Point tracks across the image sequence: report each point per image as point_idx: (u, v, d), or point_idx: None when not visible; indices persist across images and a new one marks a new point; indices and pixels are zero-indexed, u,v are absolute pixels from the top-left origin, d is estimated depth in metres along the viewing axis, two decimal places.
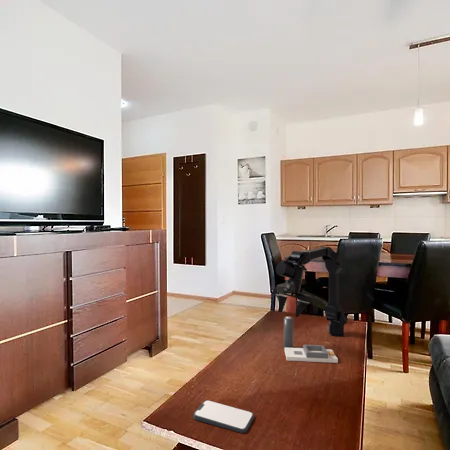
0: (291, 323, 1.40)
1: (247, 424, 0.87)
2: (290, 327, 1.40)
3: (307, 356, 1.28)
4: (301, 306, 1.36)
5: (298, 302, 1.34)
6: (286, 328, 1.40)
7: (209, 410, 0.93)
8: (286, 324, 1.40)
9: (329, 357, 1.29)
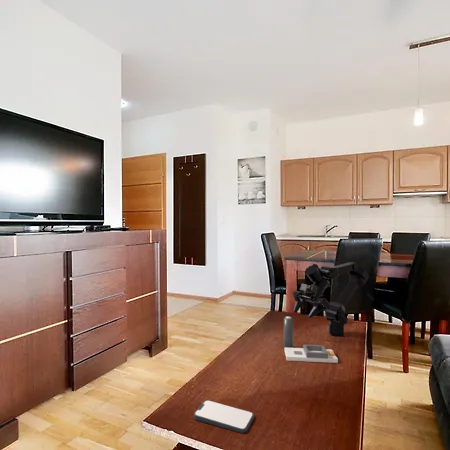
0: (291, 323, 1.40)
1: (247, 424, 0.87)
2: (290, 327, 1.40)
3: (307, 356, 1.28)
4: (317, 310, 1.43)
5: (316, 303, 1.42)
6: (286, 328, 1.40)
7: (209, 410, 0.93)
8: (286, 324, 1.40)
9: (329, 357, 1.29)
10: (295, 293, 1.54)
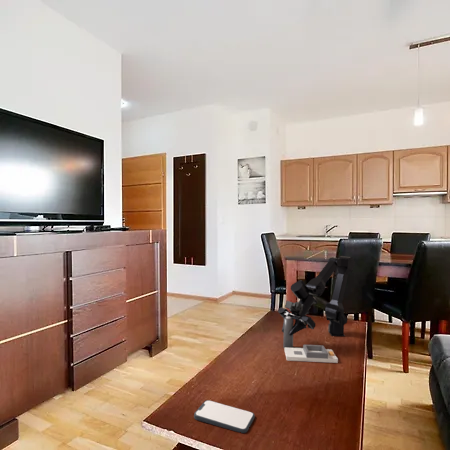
0: (291, 323, 1.40)
1: (248, 424, 0.87)
2: (290, 327, 1.40)
3: (307, 356, 1.28)
4: (298, 327, 1.40)
5: (297, 320, 1.39)
6: (286, 328, 1.40)
7: (210, 410, 0.93)
8: (286, 324, 1.40)
9: (329, 357, 1.29)
10: (280, 310, 1.49)
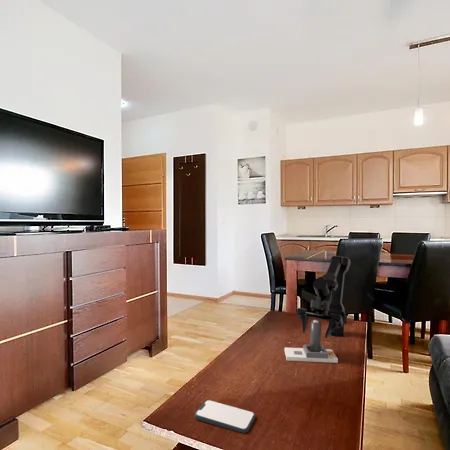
0: (320, 327, 1.31)
1: (248, 424, 0.87)
2: (319, 331, 1.30)
3: (307, 356, 1.28)
4: (331, 328, 1.31)
5: (332, 321, 1.30)
6: (315, 333, 1.30)
7: (210, 410, 0.93)
8: (316, 329, 1.30)
9: (329, 357, 1.29)
10: (300, 311, 1.38)
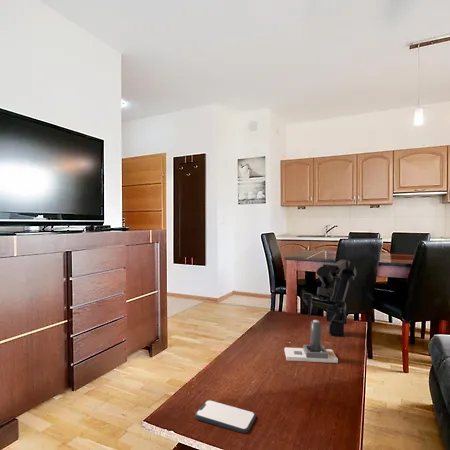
0: (320, 327, 1.31)
1: (249, 424, 0.87)
2: (320, 331, 1.30)
3: (307, 356, 1.28)
4: (335, 313, 1.40)
5: (336, 307, 1.39)
6: (315, 333, 1.30)
7: (211, 410, 0.93)
8: (316, 328, 1.30)
9: (329, 357, 1.29)
10: (306, 296, 1.46)
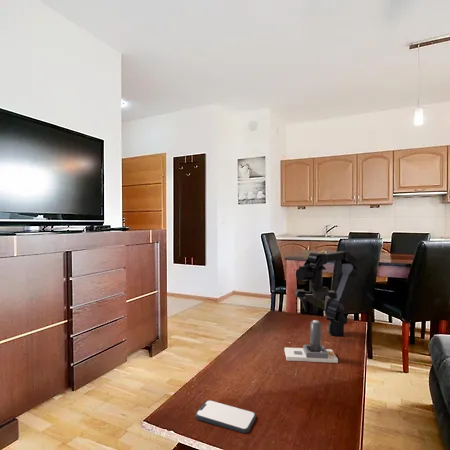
0: (320, 327, 1.30)
1: (249, 424, 0.87)
2: (319, 331, 1.30)
3: (307, 356, 1.28)
4: None
5: (330, 300, 1.49)
6: (315, 334, 1.30)
7: (211, 410, 0.93)
8: (316, 329, 1.30)
9: (329, 357, 1.29)
10: (301, 295, 1.50)
